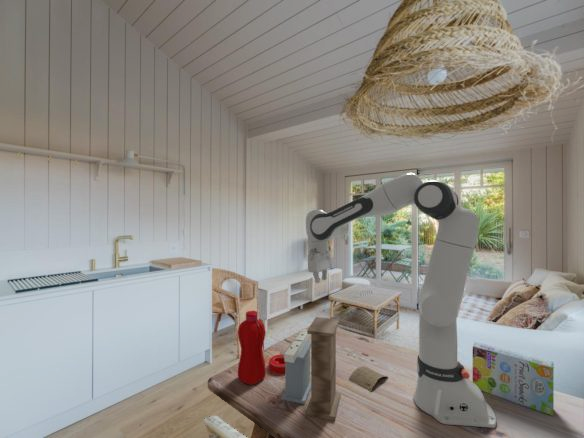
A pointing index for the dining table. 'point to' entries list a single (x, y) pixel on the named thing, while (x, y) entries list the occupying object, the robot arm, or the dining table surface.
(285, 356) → the domino bar
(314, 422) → the dining table surface
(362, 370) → the clay tablet
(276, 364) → the decorative ornament
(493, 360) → the snack box
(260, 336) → the water bottle
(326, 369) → the walnut pedestal
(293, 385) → the slate stand
